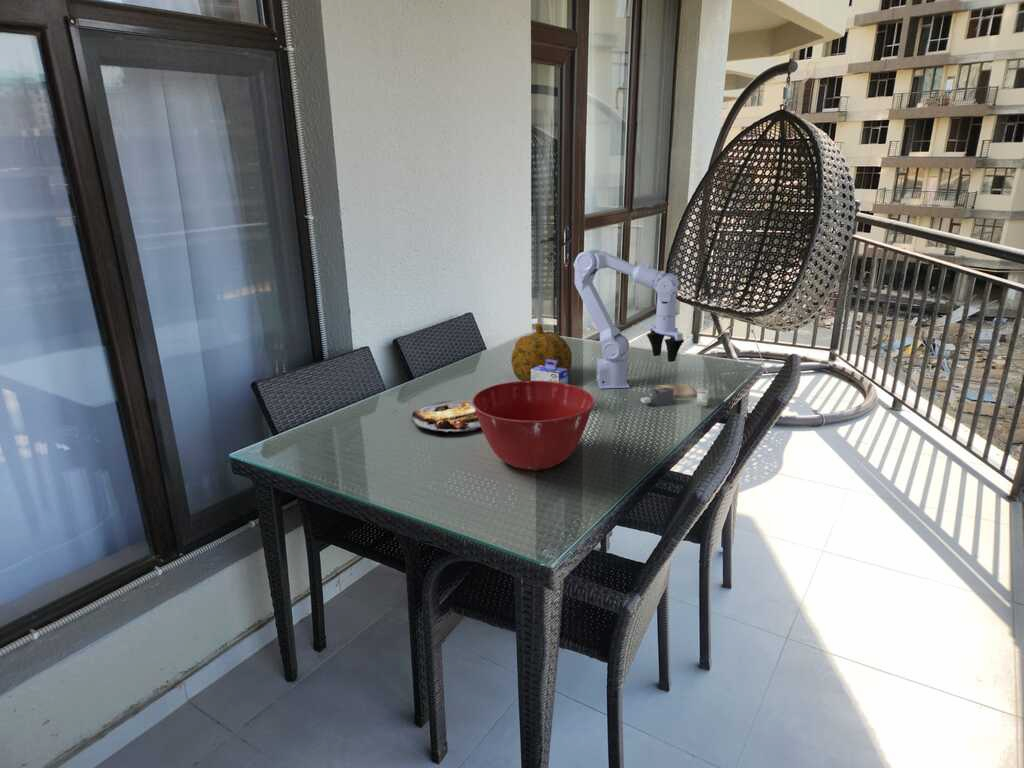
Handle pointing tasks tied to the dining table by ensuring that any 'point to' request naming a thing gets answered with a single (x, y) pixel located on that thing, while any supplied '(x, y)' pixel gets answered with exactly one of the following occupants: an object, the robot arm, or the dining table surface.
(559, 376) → the ink cartridge box
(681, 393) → the cork pad
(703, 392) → the offwhite plug
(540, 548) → the dining table surface
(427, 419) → the food plate
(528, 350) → the decorative pumpkin
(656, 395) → the charcoal plug
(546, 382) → the mixing bowl
